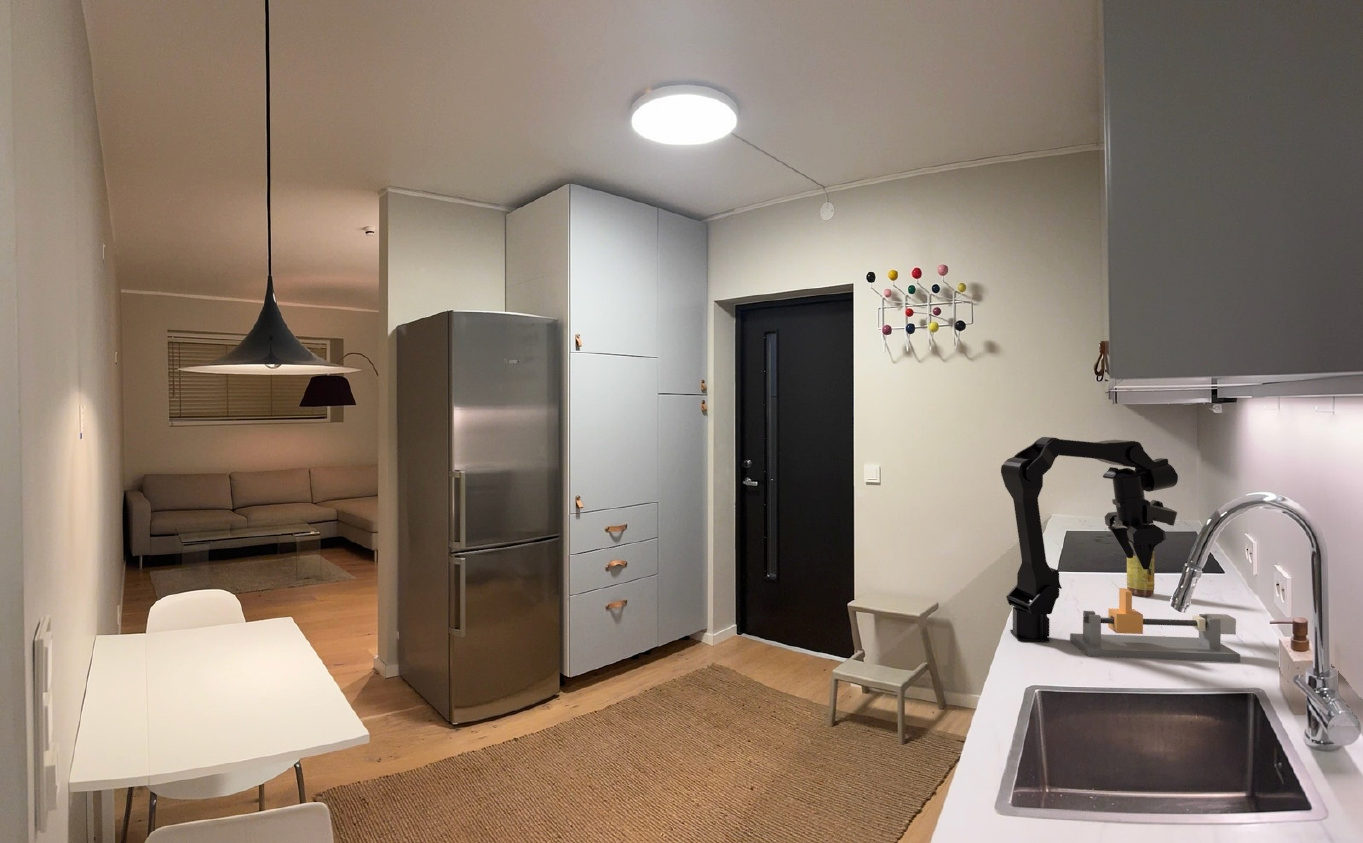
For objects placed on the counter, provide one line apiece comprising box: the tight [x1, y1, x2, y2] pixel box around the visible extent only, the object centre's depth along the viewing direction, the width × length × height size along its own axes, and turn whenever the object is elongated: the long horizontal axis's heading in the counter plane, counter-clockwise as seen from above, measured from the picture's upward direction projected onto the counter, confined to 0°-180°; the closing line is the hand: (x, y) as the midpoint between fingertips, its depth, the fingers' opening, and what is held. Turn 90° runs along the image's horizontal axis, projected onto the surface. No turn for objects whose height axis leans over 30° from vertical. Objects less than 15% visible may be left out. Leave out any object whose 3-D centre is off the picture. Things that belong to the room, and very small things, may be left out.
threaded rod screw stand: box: [1069, 610, 1241, 663], centre depth 151 cm, size 29×10×8 cm, turn 81°
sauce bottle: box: [1126, 524, 1156, 597], centre depth 194 cm, size 6×6×20 cm
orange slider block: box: [1107, 587, 1144, 635], centre depth 152 cm, size 5×4×8 cm
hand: (1138, 563), depth 165 cm, fingers open, 9 cm apart
